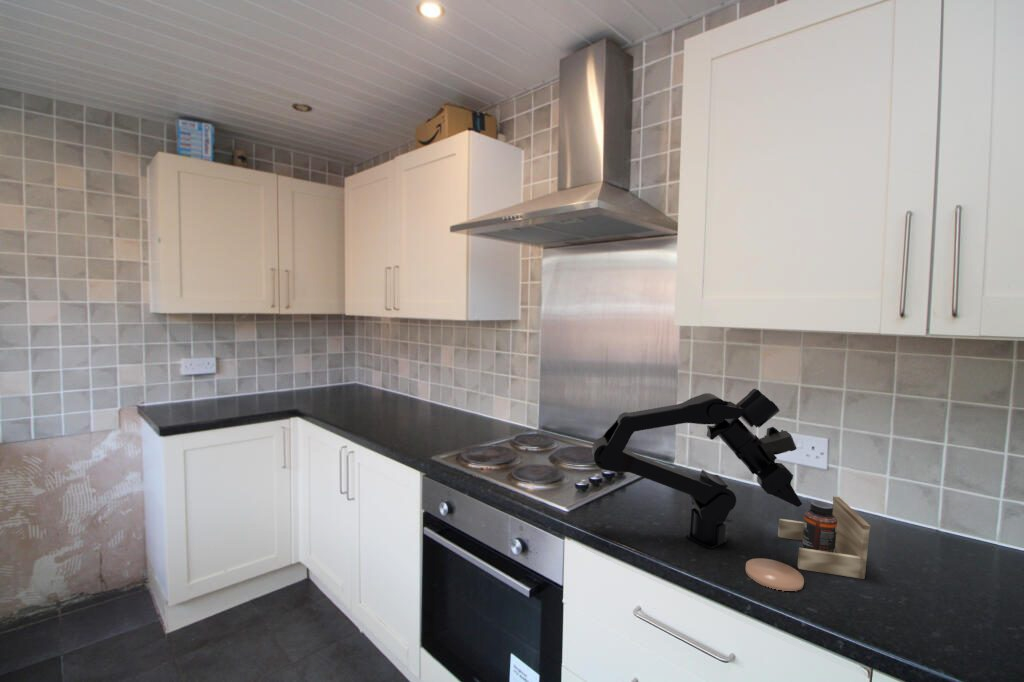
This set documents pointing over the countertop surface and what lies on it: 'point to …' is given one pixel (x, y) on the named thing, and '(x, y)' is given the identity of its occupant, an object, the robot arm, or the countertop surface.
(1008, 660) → the countertop surface
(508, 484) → the countertop surface
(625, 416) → the robot arm
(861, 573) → the wooden bench
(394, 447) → the countertop surface
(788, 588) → the peach rounded disc
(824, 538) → the supplement bottle
